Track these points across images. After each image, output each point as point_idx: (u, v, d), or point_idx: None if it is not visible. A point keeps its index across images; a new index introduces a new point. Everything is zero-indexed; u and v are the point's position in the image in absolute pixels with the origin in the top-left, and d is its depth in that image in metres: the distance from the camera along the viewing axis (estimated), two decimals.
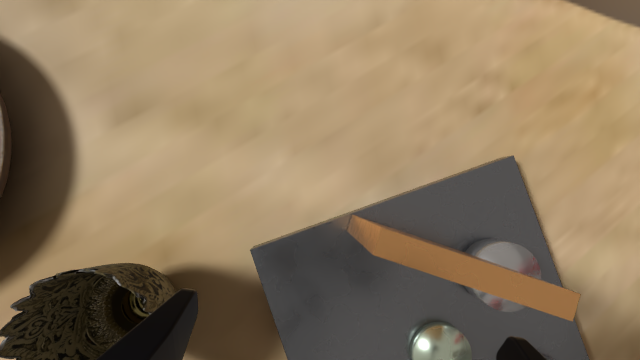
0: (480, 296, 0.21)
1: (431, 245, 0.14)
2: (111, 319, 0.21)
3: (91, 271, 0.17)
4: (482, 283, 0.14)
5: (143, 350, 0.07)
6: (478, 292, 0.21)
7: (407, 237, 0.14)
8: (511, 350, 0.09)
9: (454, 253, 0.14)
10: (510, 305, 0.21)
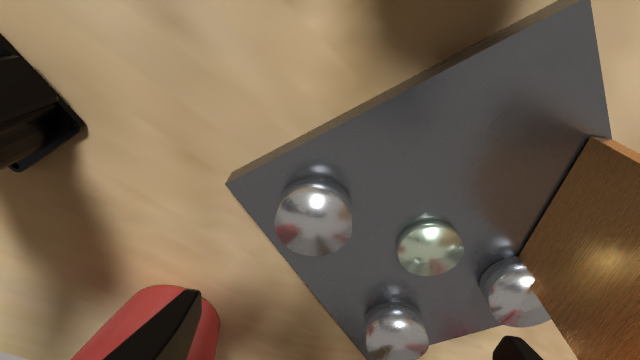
0: (510, 285, 0.20)
1: None
2: None
3: None
4: None
5: (148, 351, 0.07)
6: (515, 283, 0.20)
7: None
8: (507, 349, 0.09)
9: None
10: (498, 308, 0.21)
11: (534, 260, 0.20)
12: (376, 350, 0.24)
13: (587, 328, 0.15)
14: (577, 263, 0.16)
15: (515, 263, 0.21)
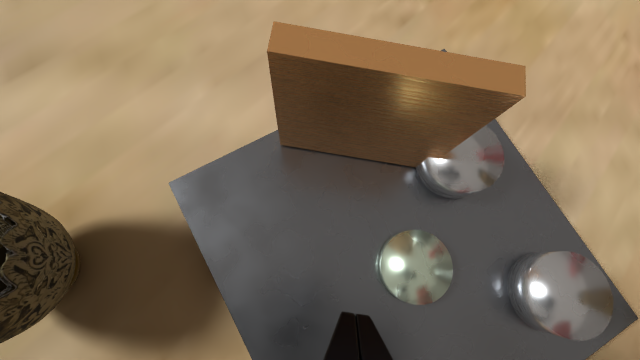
0: (441, 179, 0.18)
1: (337, 34, 0.11)
2: None
3: None
4: (407, 67, 0.11)
5: None
6: (437, 174, 0.18)
7: (307, 29, 0.11)
8: None
9: (366, 39, 0.11)
10: (477, 183, 0.18)
11: (409, 158, 0.19)
12: (591, 324, 0.17)
13: (443, 125, 0.14)
14: (385, 138, 0.16)
15: (421, 171, 0.19)
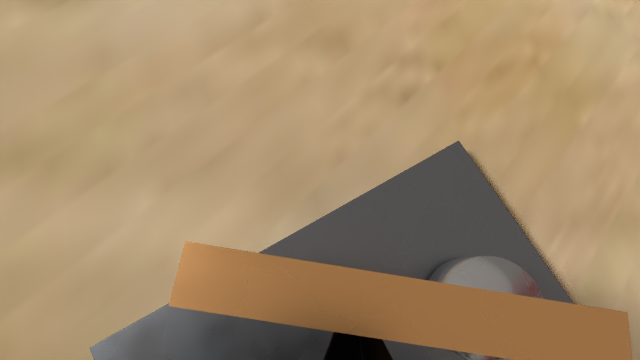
0: (461, 352, 0.13)
1: (298, 262, 0.06)
2: None
3: None
4: (422, 327, 0.06)
5: None
6: None
7: (245, 253, 0.06)
8: None
9: (349, 270, 0.06)
10: (512, 358, 0.13)
11: None
12: None
13: None
14: None
15: None
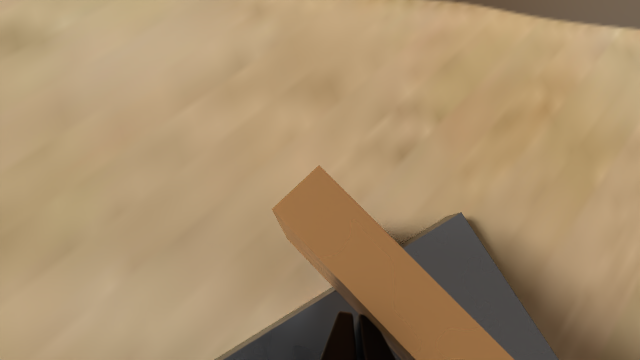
0: None
1: (404, 254, 0.06)
2: None
3: None
4: None
5: None
6: None
7: (361, 212, 0.06)
8: (357, 328, 0.09)
9: (447, 297, 0.06)
10: None
11: None
12: None
13: None
14: None
15: None
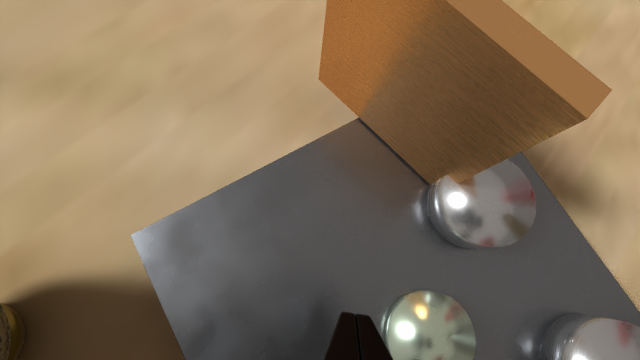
0: (444, 203, 0.15)
1: None
2: None
3: None
4: (469, 7, 0.09)
5: None
6: (443, 197, 0.15)
7: None
8: None
9: None
10: (479, 233, 0.14)
11: (428, 167, 0.16)
12: None
13: (477, 126, 0.11)
14: (413, 118, 0.14)
15: (432, 189, 0.16)
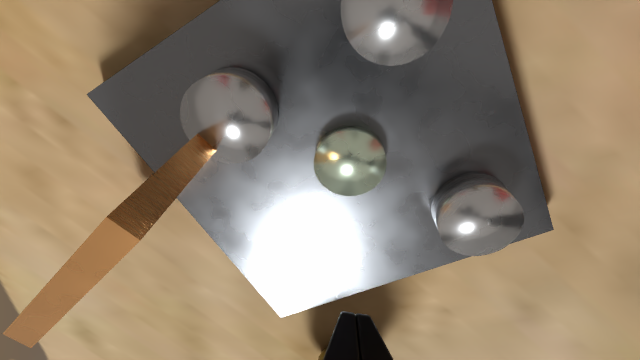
0: (236, 162, 0.17)
1: (25, 310, 0.12)
2: None
3: None
4: (73, 293, 0.12)
5: None
6: (230, 162, 0.17)
7: (15, 321, 0.13)
8: None
9: (35, 299, 0.12)
10: (260, 138, 0.16)
11: None
12: None
13: None
14: None
15: None
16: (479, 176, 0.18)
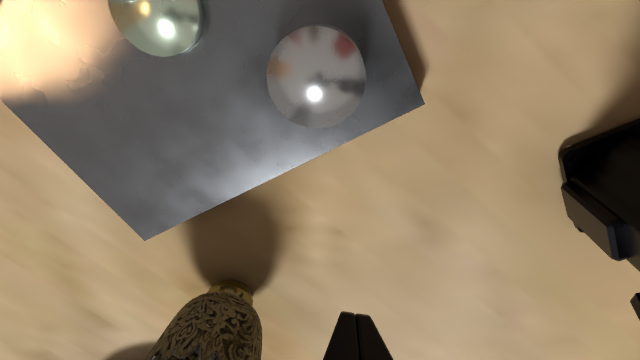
0: None
1: None
2: None
3: None
4: None
5: None
6: None
7: None
8: None
9: None
10: None
11: None
12: None
13: None
14: None
15: None
16: (316, 23, 0.15)
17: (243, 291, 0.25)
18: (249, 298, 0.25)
